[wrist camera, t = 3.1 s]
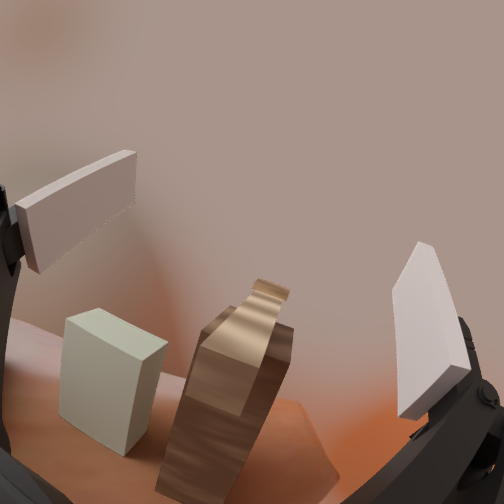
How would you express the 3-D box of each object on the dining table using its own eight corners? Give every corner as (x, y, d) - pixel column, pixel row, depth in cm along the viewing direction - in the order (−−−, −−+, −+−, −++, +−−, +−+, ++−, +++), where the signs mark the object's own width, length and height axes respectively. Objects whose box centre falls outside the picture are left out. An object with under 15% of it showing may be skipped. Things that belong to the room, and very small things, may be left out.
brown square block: (249, 307, 49) (259, 277, 49) (279, 318, 48) (290, 288, 48) (178, 391, 20) (196, 328, 19) (246, 419, 19) (272, 357, 18)
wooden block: (184, 444, 49) (230, 305, 46) (234, 464, 47) (293, 328, 45) (154, 490, 35) (201, 330, 33) (216, 515, 33) (290, 363, 31)
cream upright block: (86, 397, 50) (99, 307, 49) (146, 431, 48) (168, 342, 47) (58, 415, 41) (66, 318, 40) (123, 456, 40) (142, 360, 38)
